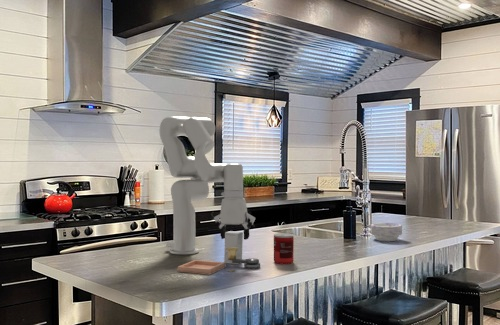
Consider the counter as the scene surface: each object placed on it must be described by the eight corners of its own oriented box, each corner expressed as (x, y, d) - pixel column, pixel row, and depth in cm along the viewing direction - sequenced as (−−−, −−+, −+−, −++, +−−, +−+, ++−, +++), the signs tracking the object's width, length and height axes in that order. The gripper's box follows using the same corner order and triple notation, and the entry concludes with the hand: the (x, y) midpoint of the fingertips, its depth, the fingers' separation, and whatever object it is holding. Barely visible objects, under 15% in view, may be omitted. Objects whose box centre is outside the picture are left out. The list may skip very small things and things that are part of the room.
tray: (177, 271, 184) (177, 266, 184) (195, 264, 196) (195, 259, 196) (209, 274, 179) (209, 269, 179) (225, 267, 191) (225, 262, 191)
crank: (259, 261, 193) (259, 246, 193) (258, 264, 188) (258, 248, 188) (227, 261, 193) (227, 246, 193) (226, 264, 188) (226, 248, 188)
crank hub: (241, 268, 189) (241, 264, 189) (248, 265, 194) (248, 261, 194) (256, 269, 187) (256, 265, 187) (262, 266, 192) (262, 262, 192)
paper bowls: (364, 240, 254) (364, 224, 254) (381, 236, 264) (381, 221, 264) (390, 243, 243) (390, 227, 243) (408, 240, 253) (408, 224, 253)
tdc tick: (229, 272, 182) (229, 271, 182) (228, 271, 183) (228, 270, 183) (234, 271, 184) (234, 270, 184) (232, 270, 184) (232, 270, 184)
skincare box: (223, 263, 198) (223, 232, 198) (229, 261, 202) (229, 230, 202) (237, 264, 195) (237, 233, 195) (243, 262, 199) (243, 231, 199)
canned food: (281, 259, 205) (281, 232, 205) (297, 262, 200) (297, 234, 200) (269, 262, 199) (269, 234, 199) (286, 265, 194) (286, 236, 194)
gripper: (209, 195, 198) (210, 239, 198) (250, 195, 192) (251, 240, 191) (218, 194, 205) (219, 236, 205) (257, 194, 199) (258, 238, 198)
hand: (234, 238), depth 198 cm, fingers open, 9 cm apart
